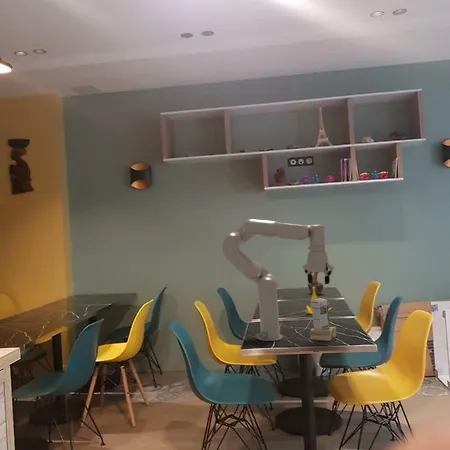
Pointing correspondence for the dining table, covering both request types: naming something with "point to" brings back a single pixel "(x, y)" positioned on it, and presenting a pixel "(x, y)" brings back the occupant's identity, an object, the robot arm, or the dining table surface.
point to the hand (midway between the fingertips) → (318, 283)
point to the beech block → (323, 334)
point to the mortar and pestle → (315, 285)
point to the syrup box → (320, 314)
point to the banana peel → (311, 304)
